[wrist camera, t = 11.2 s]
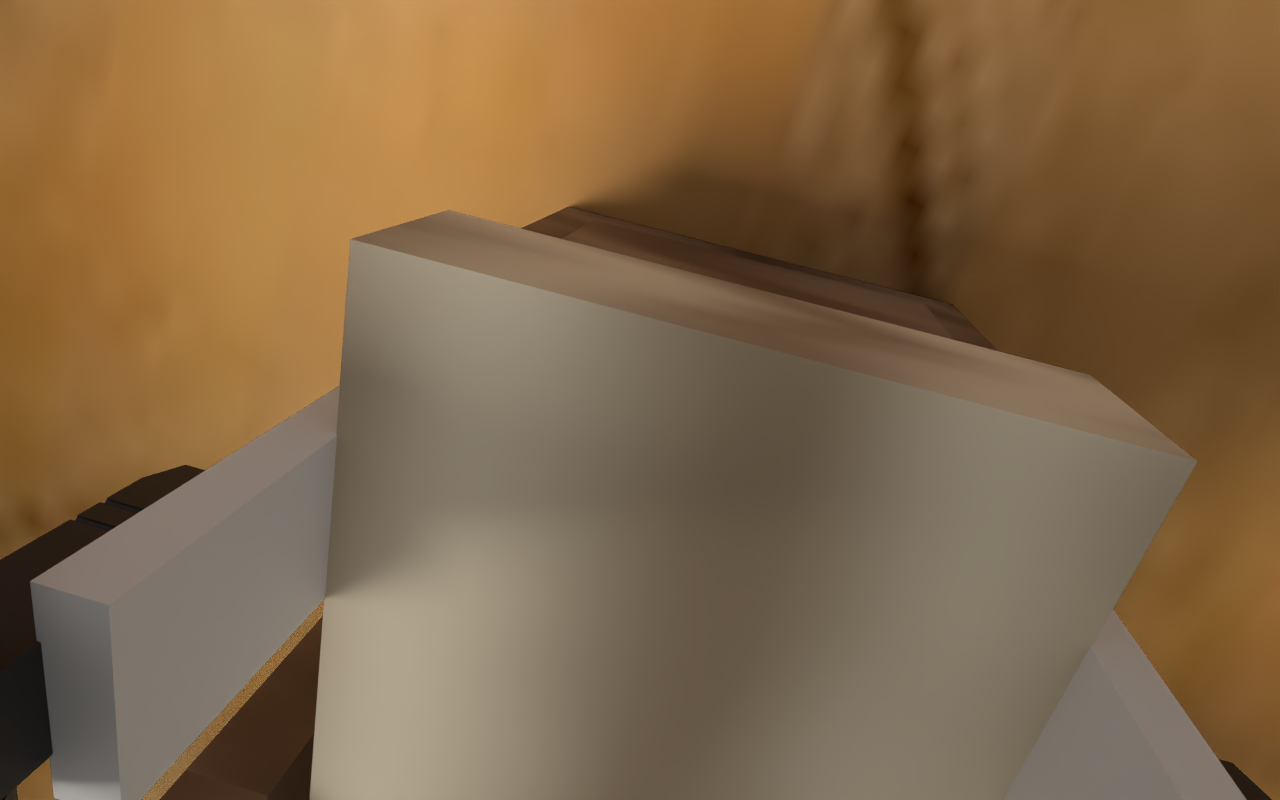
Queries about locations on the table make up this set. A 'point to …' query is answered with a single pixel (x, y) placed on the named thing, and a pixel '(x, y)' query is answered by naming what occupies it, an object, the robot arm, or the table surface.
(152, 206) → the table surface
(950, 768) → the lid
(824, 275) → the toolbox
